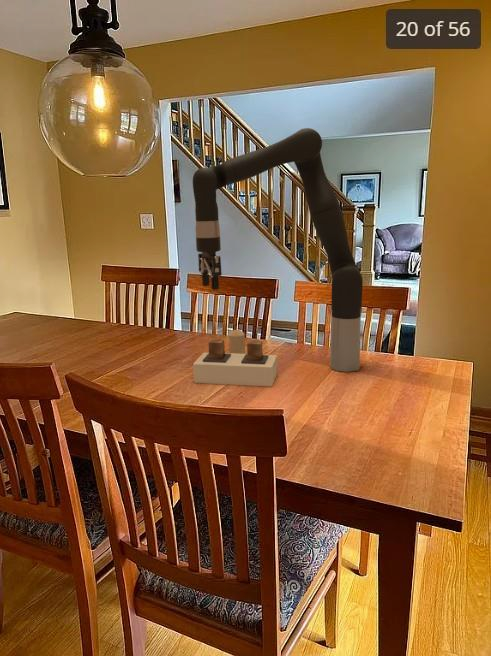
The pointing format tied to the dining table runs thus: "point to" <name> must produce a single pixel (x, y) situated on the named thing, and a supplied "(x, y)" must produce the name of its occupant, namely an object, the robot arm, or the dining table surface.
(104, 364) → the dining table surface
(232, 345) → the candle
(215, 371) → the socket board
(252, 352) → the peg
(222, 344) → the peg
